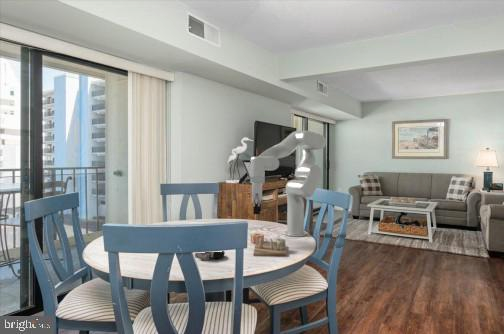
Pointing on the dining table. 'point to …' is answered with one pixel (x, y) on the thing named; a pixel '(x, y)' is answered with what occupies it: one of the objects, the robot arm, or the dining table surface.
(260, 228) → the dining table surface
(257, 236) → the terracotta gear
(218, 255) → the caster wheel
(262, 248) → the gear board
